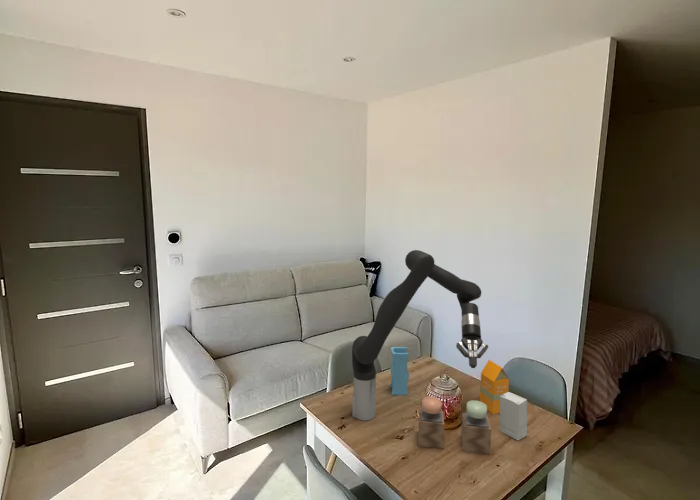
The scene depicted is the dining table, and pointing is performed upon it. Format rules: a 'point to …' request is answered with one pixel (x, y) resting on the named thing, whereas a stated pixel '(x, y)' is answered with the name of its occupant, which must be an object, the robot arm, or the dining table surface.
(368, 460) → the dining table surface
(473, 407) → the sage button
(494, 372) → the orange juice
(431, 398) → the terracotta button
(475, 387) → the dining table surface
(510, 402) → the skincare box
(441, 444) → the pillar
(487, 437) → the pillar
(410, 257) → the robot arm
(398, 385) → the vase
